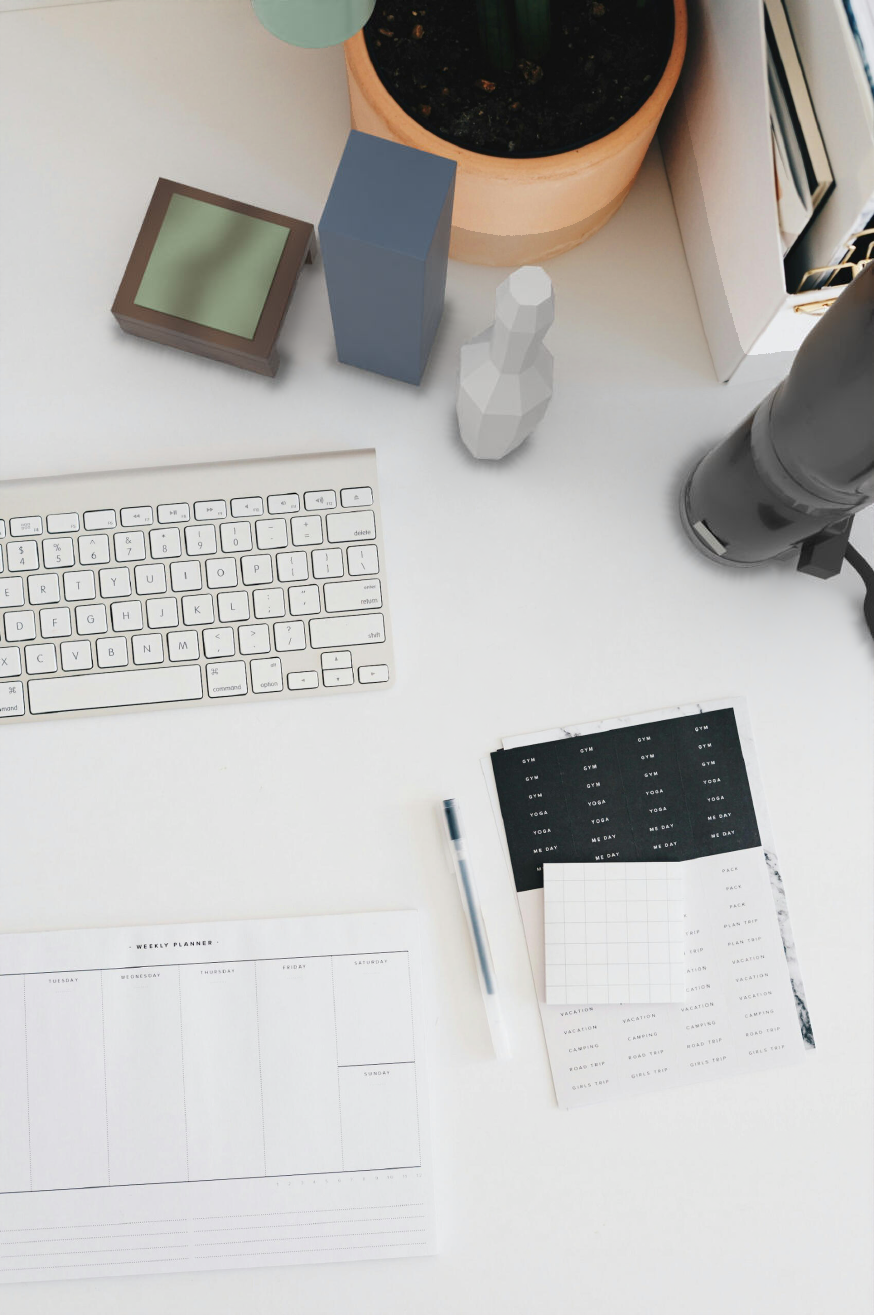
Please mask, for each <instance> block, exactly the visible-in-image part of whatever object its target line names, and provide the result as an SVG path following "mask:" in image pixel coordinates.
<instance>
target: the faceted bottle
mask: <svg viewBox="0 0 874 1315" xmlns="http://www.w3.org/2000/svg"><path fill="white" fill-rule="evenodd" d="M555 304H556V295H555V290H554V286H553V282H552V279H551V278H550V276H549V275H548V274H547V273H546V271H545V269H543V267H542V266H539V265H537V266H535V265H523V266H522V267H520V268H518V269H516V270H515V271H514V272H512V273H511V274H510V275H508V277H507V278H506V279H505V280H503V281H502V282H501V284H500V285H498V287H497V288H495V317H494V318H495V319H494V321H493V324H492V325H490V326H489V327H487V328H486V329H484V330H482V331H481V332H480V333H479V334H477V335H475V336H474V337H473V338H472V339H470V340H468V341H466V342H465V343H464V344H462V345H461V348H460V354H459V362H458V368H457V378H456V379H457V382H456V404H455V407H456V413H457V414H456V416H457V421H458V428H459V434H460V440H461V442H462V443H463V444H464V445H465V447H466V448H467V450H468V451H469V453H471V455H472V456H473V458H474V459H476V460H493V461H495V460H496V461H500V460H502V459H503V458H504V457H505V456H507V455H508V454H510V453H511V452H513V451H514V450H516V449H517V448H518V447H519V446H520V445H522V443H523V442H524V441H525V439H526V438H527V437H528V436H529V435H530V434H531V433H532V431H533V430H534V429H535V428H536V427H537V425H538V424H539V423H540V422H541V421H542V419H543V418H544V417H545V414H546V411H547V410H548V407H549V404H550V402H551V400H552V397H553V395H554V364H555V363H554V362H555V361H554V360H555V359H554V358H555V357H554V355H553V354H552V353H551V352H550V350H549V349H548V348H547V346H546V345H545V343H544V342H543V339H544V338H545V336H546V335H547V333H548V332H549V329H550V328H551V327H552V325H553V323H554V321H555V316H556V315H555V312H556V311H555V310H556V309H555V308H556V307H555V306H556V305H555Z"/></svg>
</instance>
